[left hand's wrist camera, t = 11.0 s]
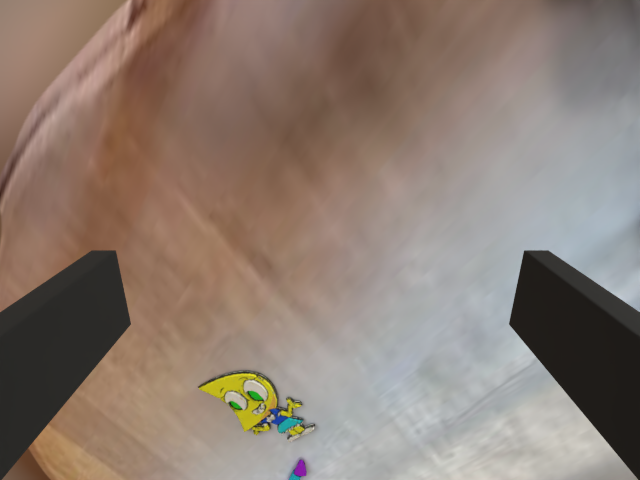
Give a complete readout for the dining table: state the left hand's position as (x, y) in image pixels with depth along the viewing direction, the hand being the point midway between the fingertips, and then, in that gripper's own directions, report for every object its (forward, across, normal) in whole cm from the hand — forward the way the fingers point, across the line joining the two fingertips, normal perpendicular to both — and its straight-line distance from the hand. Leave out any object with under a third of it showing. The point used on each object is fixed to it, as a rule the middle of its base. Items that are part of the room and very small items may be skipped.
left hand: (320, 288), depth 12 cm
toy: (+31, -8, -35) cm, 47 cm away
